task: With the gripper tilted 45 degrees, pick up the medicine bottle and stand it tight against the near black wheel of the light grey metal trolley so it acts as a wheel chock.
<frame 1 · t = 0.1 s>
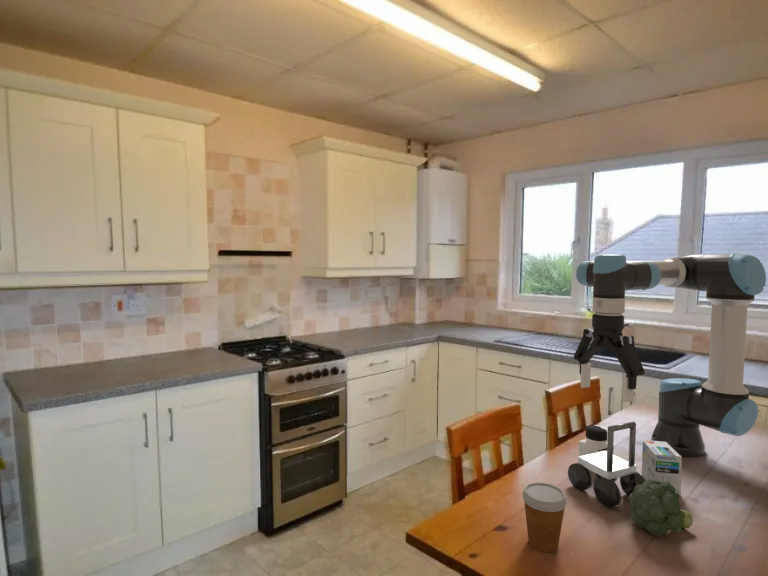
hand: (605, 393, 121), 28 cm above the table, tool pointing down, fingers open, 13 cm apart
light bulb box: (659, 485, 129), on the table
medicine bottle: (595, 465, 141), on the table
vegetable: (659, 529, 108), on the table
trolley: (605, 493, 124), on the table
disposable coffee cup: (543, 544, 103), on the table
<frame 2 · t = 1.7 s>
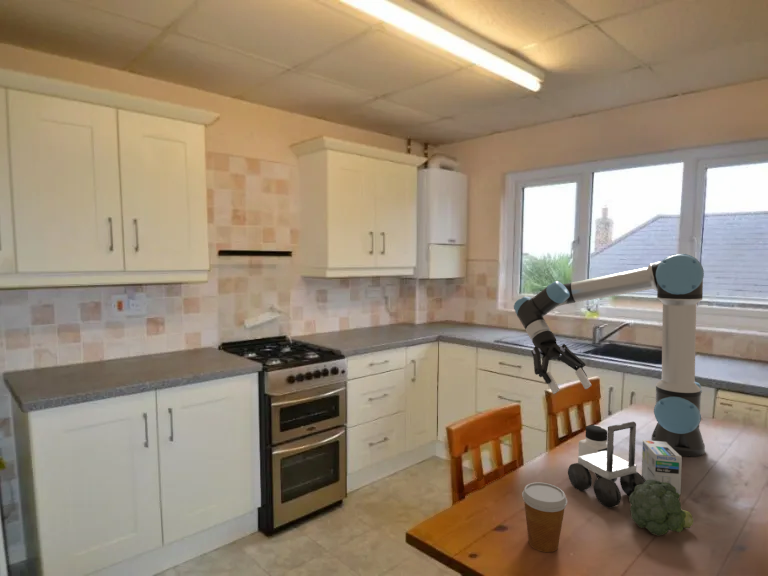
hand: (572, 389, 148), 21 cm above the table, tool tilted 45°, fingers open, 13 cm apart
nothing on the table moved.
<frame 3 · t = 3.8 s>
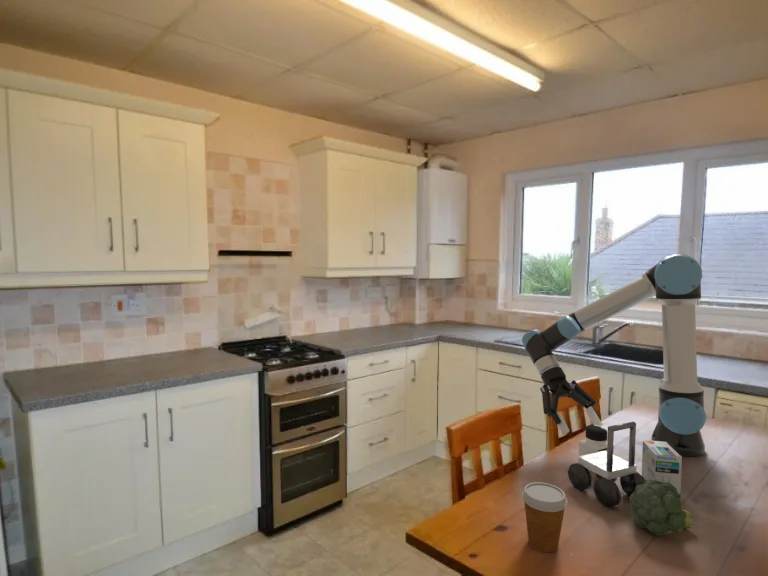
hand: (583, 430, 144), 10 cm above the table, tool tilted 45°, fingers open, 13 cm apart
nothing on the table moved.
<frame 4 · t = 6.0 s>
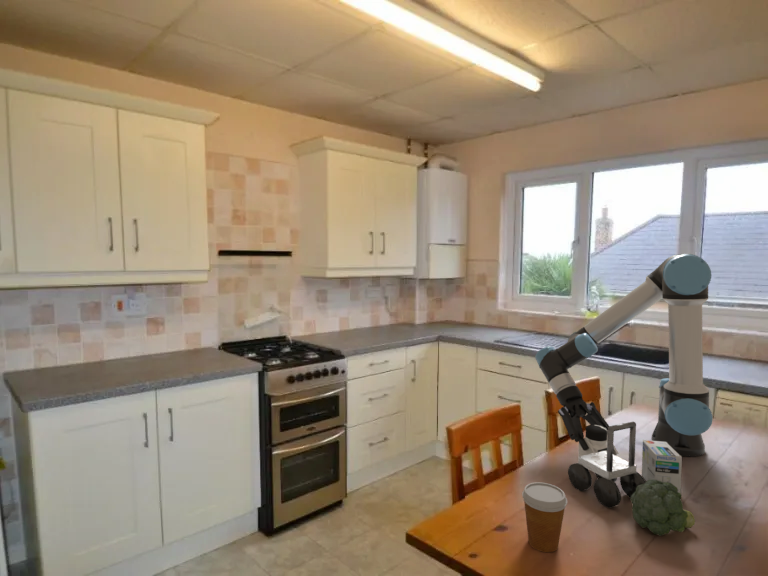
hand: (605, 457, 137), 4 cm above the table, tool tilted 45°, fingers closed on medicine bottle, 7 cm apart
medicine bottle: (595, 465, 141), on the table, touching gripper
everything else where it was.
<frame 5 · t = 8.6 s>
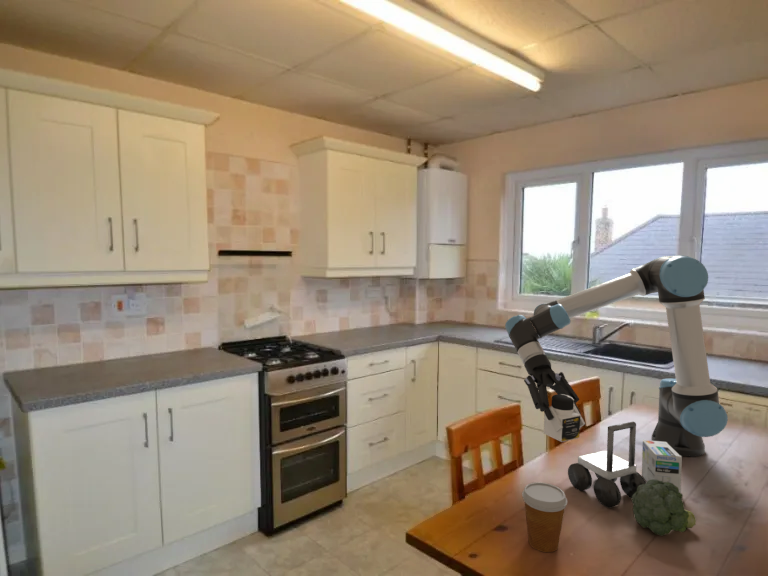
hand: (570, 427, 131), 15 cm above the table, tool tilted 45°, fingers closed on medicine bottle, 7 cm apart
medicine bottle: (561, 436, 134), point 11 cm above the table, touching gripper
everything else where it was.
when the fingers open (5 cm above the table, at t = 11.5 s): medicine bottle drops 1 cm, on the table.
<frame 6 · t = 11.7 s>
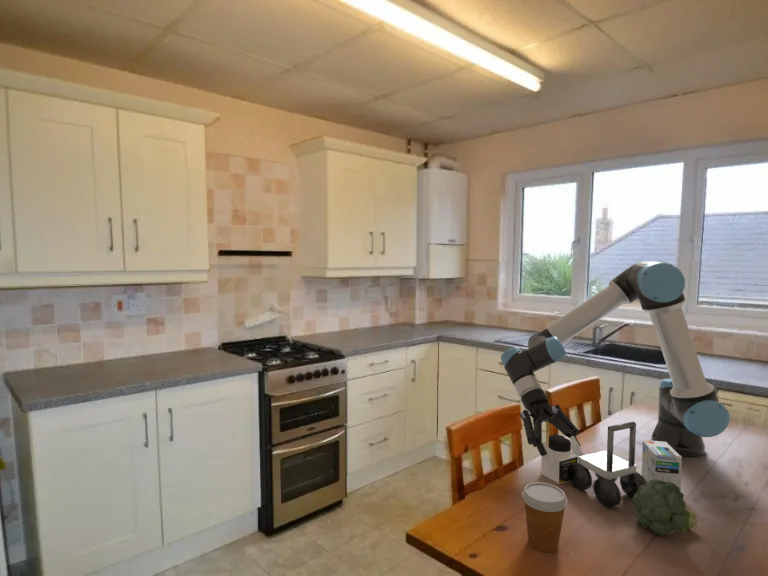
hand: (567, 462, 130), 6 cm above the table, tool tilted 45°, fingers open, 10 cm apart
medicine bottle: (558, 477, 133), on the table
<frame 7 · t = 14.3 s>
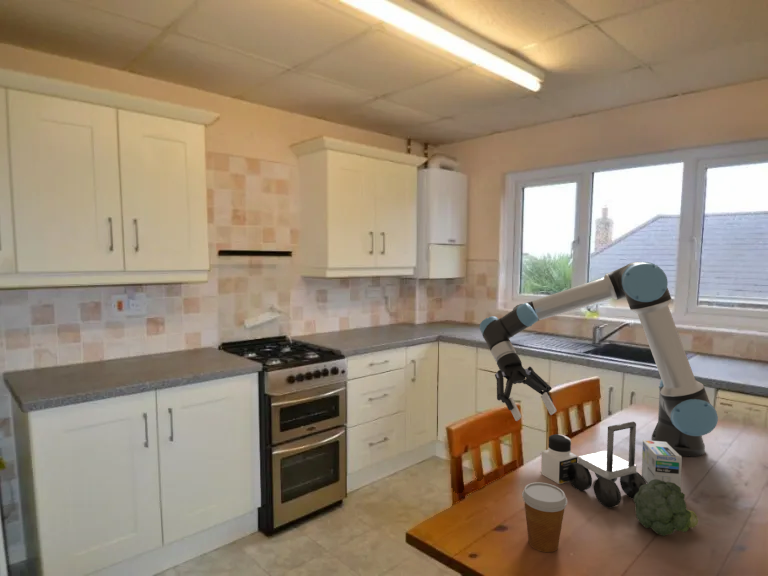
hand: (536, 415, 142), 15 cm above the table, tool tilted 45°, fingers open, 13 cm apart
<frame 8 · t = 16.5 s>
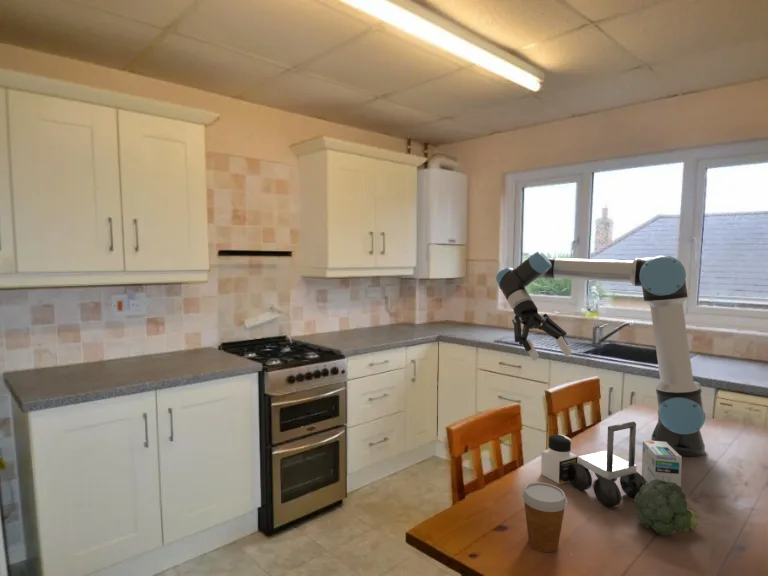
hand: (552, 356, 148), 32 cm above the table, tool tilted 45°, fingers open, 13 cm apart
at the end: medicine bottle 0.4 cm from the target spot on the table beside the trolley, on the table; medicine bottle tilted 0°; the gripper is holding nothing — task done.
